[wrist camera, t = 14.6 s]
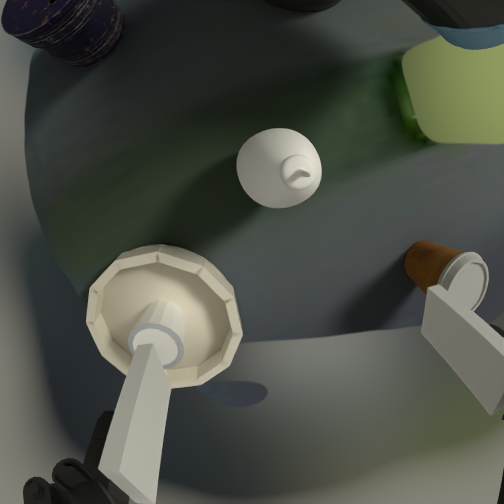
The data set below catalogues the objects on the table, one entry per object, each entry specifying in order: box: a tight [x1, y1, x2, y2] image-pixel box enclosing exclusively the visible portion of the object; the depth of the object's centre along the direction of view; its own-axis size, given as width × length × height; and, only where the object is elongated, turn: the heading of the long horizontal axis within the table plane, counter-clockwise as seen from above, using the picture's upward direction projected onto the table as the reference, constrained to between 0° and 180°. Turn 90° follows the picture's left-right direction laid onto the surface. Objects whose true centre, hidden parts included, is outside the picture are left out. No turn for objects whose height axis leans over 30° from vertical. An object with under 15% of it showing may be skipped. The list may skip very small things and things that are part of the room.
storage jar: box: [1, 0, 126, 68], centre depth 20 cm, size 10×10×15 cm
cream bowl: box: [86, 244, 243, 388], centre depth 38 cm, size 20×20×4 cm
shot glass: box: [128, 300, 184, 369], centre depth 36 cm, size 7×7×7 cm
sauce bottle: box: [236, 128, 322, 208], centre depth 27 cm, size 8×8×18 cm
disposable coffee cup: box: [404, 240, 489, 312], centre depth 36 cm, size 10×10×12 cm
